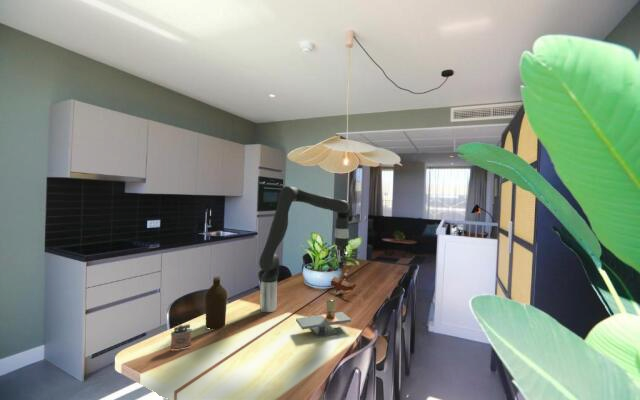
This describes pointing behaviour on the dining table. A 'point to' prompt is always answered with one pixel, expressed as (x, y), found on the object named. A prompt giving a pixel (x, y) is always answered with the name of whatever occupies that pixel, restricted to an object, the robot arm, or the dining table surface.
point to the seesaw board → (322, 320)
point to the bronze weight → (330, 308)
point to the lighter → (181, 337)
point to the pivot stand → (324, 331)
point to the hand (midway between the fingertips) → (340, 268)
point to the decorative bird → (342, 284)
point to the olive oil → (215, 305)
